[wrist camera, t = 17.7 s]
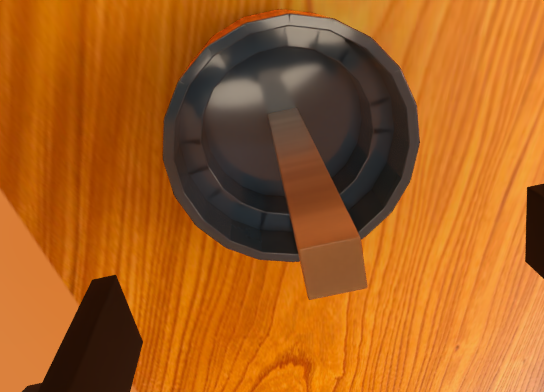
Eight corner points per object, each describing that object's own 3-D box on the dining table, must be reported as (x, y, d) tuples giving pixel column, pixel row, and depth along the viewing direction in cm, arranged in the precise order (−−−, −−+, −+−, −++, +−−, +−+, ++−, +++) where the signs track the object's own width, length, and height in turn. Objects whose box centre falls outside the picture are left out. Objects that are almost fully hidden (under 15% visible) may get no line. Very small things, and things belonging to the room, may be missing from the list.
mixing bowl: (150, 36, 30) (127, 48, 24) (373, -13, 29) (408, -14, 23) (207, 233, 35) (201, 282, 29) (395, 193, 35) (427, 235, 29)
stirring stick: (267, 113, 31) (298, 249, 15) (296, 107, 31) (360, 236, 15) (273, 142, 32) (309, 300, 16) (302, 135, 32) (368, 288, 16)
